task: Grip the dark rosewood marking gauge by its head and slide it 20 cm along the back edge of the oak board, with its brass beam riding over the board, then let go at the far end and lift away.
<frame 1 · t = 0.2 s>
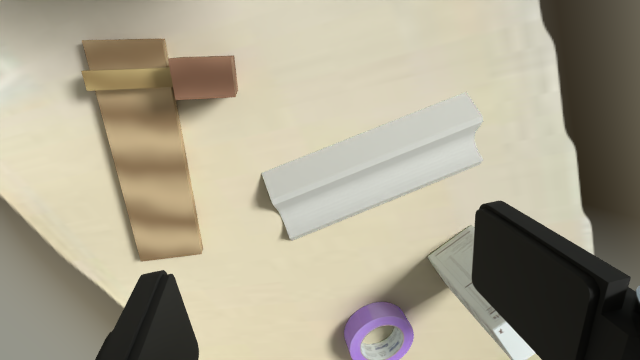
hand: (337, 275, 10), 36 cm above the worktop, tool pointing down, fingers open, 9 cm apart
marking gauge: (210, 74, 40), on the worktop
supplement box: (458, 256, 58), on the worktop
crown molding: (373, 165, 50), on the worktop
oak board: (153, 158, 43), on the worktop
masking tape: (374, 326, 61), on the worktop
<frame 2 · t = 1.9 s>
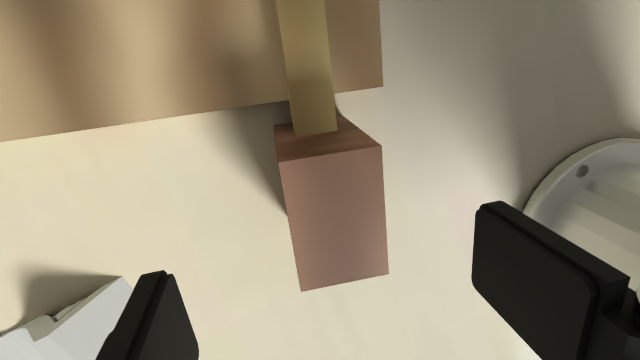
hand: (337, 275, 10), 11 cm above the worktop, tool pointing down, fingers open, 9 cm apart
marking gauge: (314, 169, 20), on the worktop
oak board: (88, 39, 16), on the worktop
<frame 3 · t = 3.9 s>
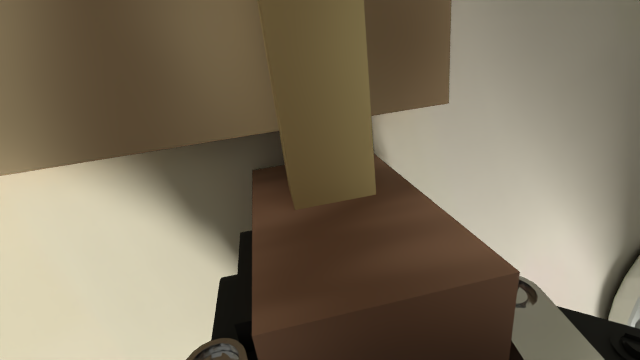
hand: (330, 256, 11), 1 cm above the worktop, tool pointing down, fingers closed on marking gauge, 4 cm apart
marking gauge: (322, 236, 12), on the worktop, touching gripper
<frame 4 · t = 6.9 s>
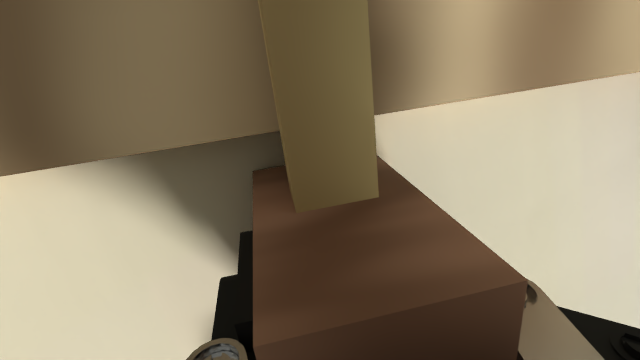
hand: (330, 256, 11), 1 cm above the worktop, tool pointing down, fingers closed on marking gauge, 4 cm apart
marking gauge: (323, 237, 12), on the worktop, touching gripper
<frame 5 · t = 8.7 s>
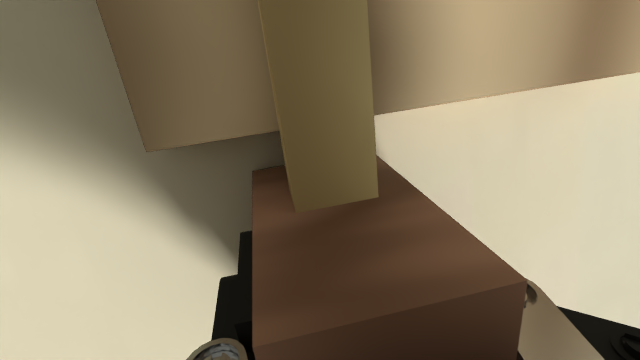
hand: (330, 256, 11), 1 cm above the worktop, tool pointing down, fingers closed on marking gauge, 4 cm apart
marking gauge: (323, 237, 12), on the worktop, touching gripper
when the fingers open (1 cm above the worktop, at t = 10.0 s): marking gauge stays where it is, on the worktop.
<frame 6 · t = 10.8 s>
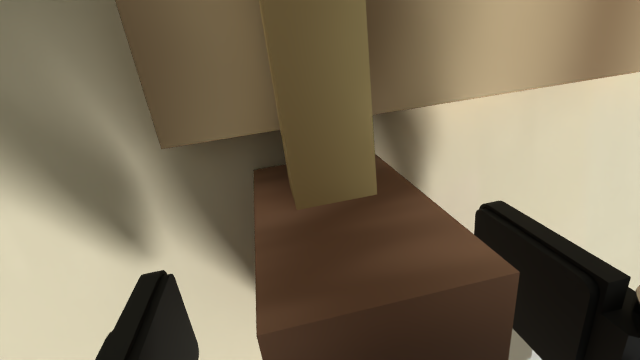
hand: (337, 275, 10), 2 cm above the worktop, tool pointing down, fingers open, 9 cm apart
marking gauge: (323, 235, 12), on the worktop
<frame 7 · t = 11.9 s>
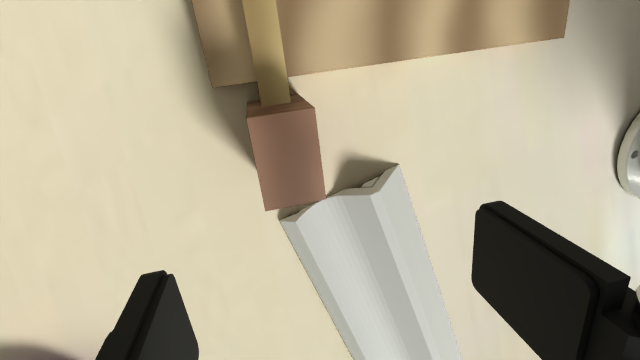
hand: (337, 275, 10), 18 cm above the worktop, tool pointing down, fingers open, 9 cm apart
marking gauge: (279, 135, 27), on the worktop
crown molding: (388, 304, 37), on the worktop
oak board: (391, 4, 25), on the worktop
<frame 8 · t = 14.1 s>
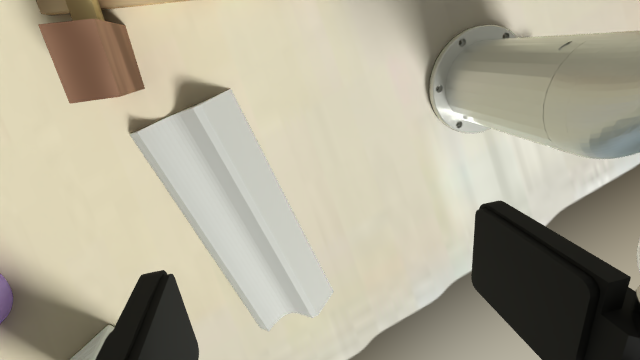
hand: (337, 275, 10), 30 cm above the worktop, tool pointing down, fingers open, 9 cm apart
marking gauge: (114, 60, 33), on the worktop
supplement box: (117, 358, 46), on the worktop
crown molding: (248, 220, 43), on the worktop
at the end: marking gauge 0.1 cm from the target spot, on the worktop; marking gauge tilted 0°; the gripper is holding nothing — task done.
